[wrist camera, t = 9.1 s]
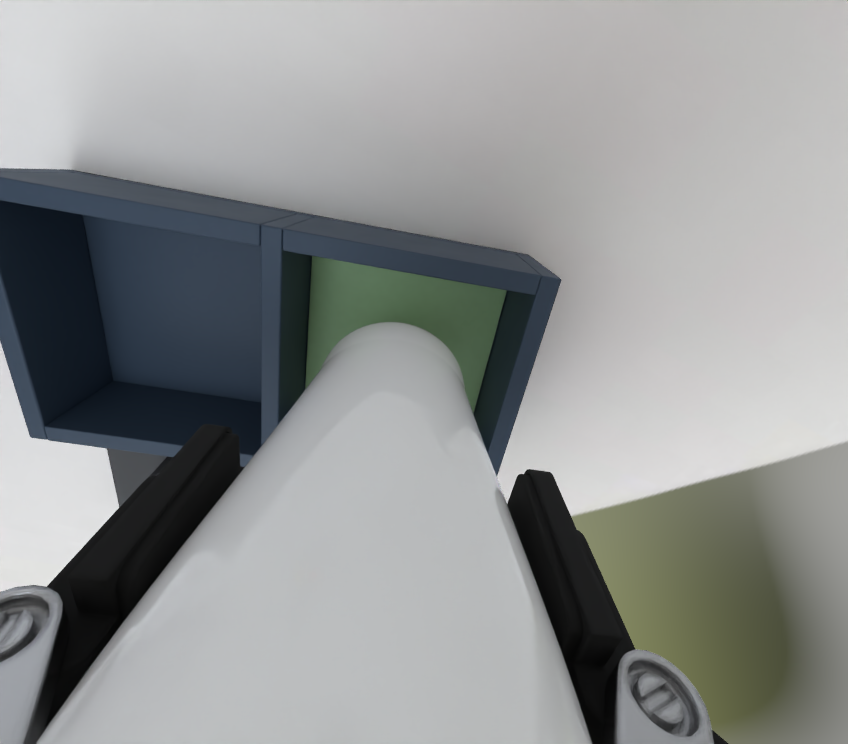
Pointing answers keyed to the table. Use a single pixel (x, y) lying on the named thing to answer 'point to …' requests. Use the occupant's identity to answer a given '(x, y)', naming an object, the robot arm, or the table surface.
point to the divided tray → (231, 310)
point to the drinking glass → (344, 585)
